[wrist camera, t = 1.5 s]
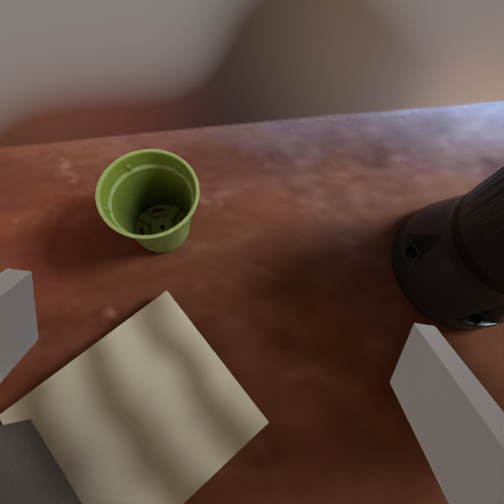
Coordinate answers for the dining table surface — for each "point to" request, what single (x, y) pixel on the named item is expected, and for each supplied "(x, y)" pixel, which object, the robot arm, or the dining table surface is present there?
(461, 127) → the dining table surface
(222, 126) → the dining table surface
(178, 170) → the plant pot
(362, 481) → the dining table surface
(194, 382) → the shelf board
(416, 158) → the dining table surface
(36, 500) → the bookend
